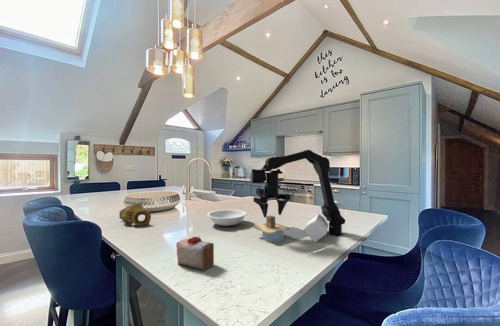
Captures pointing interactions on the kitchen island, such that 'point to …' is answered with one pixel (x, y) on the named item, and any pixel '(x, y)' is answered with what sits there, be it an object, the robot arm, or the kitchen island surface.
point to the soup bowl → (227, 217)
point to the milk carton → (316, 228)
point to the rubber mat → (295, 233)
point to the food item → (195, 253)
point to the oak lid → (270, 226)
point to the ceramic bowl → (273, 236)
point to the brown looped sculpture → (135, 214)
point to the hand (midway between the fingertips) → (272, 216)
